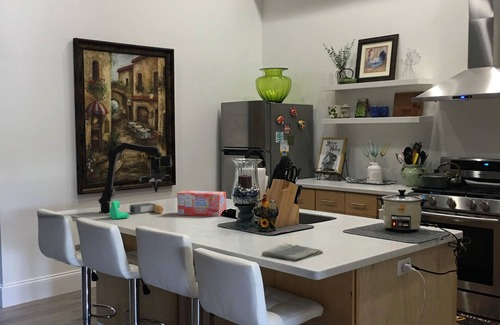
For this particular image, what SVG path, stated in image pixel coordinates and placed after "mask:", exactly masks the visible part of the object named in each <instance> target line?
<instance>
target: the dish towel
mask: <svg viewBox="0 0 500 325" xmlns="http://www.w3.org/2000/svg"><path fill="white" fill-rule="evenodd" d="M323 252H324V251H323V250H321V249H320V248H318V249H317V248H312V247H308V246H302V245H298V244H295V245H293V244H290V243H287V242H284V243H282V244H280V245H279V244H278V245H277V246H274V247H272V248H269V249H267V250H264V251H262V253H261V256H263V257H268V258H272V259H274V258H275V259H279V260H285V261H291V262H296V263H297V262H300V261H304V260H307V259H310V258H313V257H316V256H320V255H323Z"/></svg>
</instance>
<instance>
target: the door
mask: <svg viewBox="0 0 500 325" xmlns="http://www.w3.org/2000/svg"><path fill="white" fill-rule="evenodd" d="M153 204H154V212H153V213H156V214H160V215H162V214H163V211H164V208H163V206H162V205H159V204H157V203H153Z"/></svg>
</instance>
